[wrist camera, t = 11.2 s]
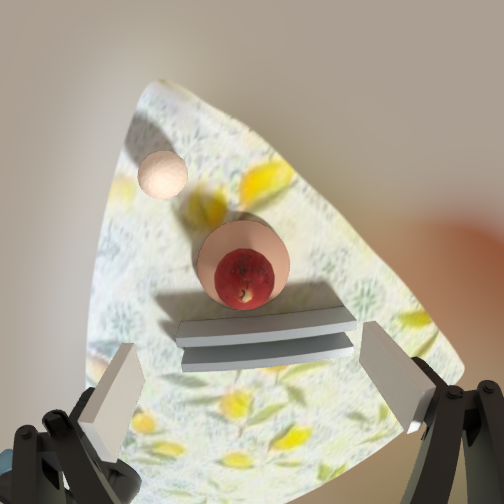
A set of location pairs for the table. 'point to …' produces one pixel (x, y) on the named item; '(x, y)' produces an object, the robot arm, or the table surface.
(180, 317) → the table surface
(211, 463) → the table surface
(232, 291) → the onion
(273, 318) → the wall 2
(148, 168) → the egg
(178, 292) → the table surface
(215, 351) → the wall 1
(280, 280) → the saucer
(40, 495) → the robot arm
